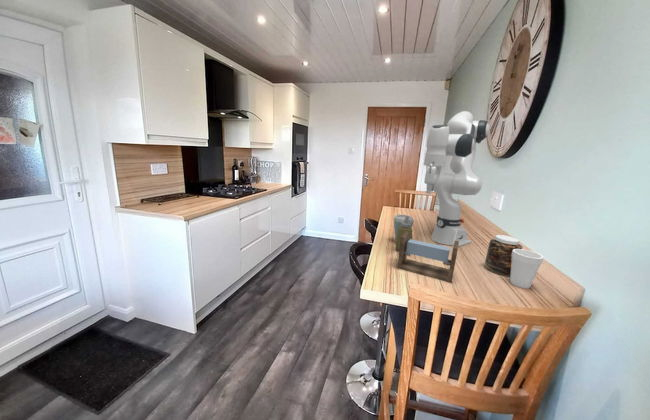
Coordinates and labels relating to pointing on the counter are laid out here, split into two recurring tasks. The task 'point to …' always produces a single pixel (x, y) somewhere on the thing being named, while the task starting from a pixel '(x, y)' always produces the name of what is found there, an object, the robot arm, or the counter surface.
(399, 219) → the disposable coffee cup
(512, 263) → the foam cup
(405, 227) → the squeeze bottle
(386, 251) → the counter surface
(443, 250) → the grey block
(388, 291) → the counter surface
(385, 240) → the counter surface
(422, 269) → the shelf frame
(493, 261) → the jar
